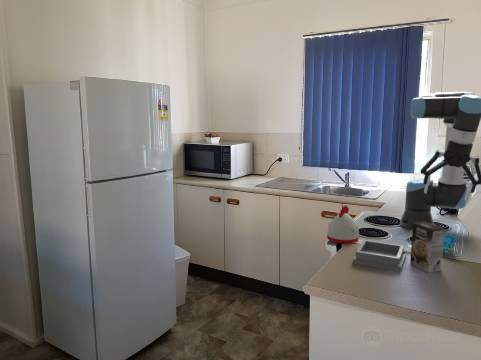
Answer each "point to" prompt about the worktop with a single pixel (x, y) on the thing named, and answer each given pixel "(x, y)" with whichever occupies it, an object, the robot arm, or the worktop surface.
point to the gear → (447, 244)
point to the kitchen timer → (343, 228)
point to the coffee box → (427, 246)
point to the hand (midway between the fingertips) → (445, 196)
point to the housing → (380, 255)
